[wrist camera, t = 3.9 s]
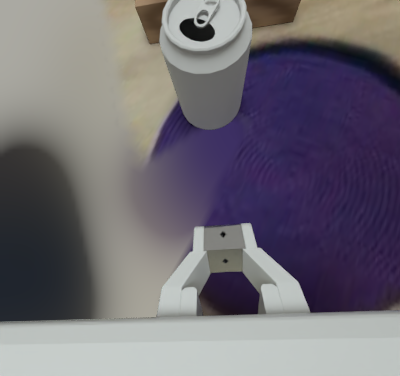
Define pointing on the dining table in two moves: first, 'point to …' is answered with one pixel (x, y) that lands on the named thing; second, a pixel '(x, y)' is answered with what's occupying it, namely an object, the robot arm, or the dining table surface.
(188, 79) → the can
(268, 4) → the wooden block
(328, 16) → the dining table surface
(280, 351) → the robot arm
